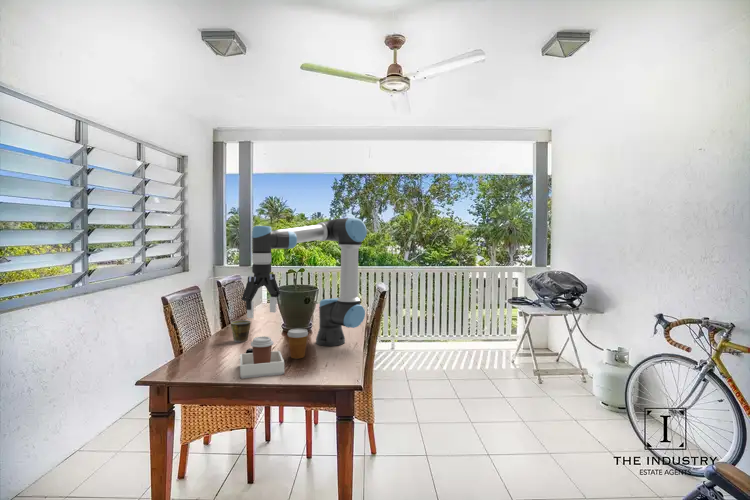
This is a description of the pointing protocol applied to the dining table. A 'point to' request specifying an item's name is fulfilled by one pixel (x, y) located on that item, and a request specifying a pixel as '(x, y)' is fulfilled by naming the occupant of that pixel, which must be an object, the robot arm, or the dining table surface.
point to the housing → (261, 366)
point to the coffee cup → (262, 349)
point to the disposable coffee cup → (297, 342)
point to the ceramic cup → (240, 330)
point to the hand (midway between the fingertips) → (261, 315)
